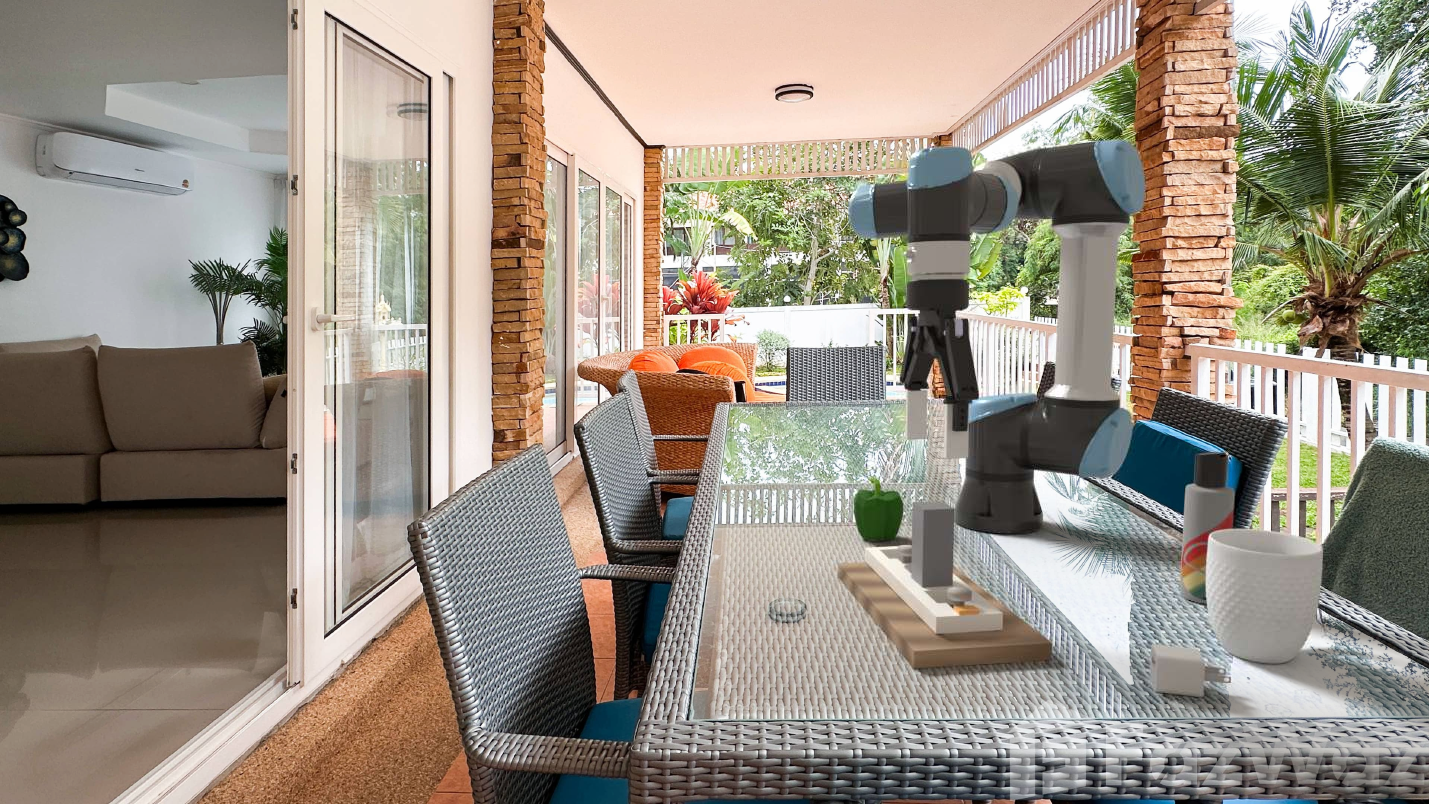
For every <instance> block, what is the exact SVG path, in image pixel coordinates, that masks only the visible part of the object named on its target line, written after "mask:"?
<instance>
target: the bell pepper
mask: <svg viewBox="0 0 1429 804" xmlns="http://www.w3.org/2000/svg"><path fill="white" fill-rule="evenodd" d="M869 481H870V482H871V484H874V489H871V490H868V489H865V488H864V489H863V488H862V489H859V490H858V492H857V493H856V494H855V497H854V498H853V515H854V521H855V525H856V527H857V531H858V533H859V535H860V537H861V538H862V539H864V540H866V541H873V542H878V541H884V540H885V541H886V540H894V539H895V538H896V536H897V535H898V534H899V531H900V528H901V524H902V521H903V518H904V502H903V499H902V497H901V495H900V493H899V491H896V490H888V491H884V490H883V489H882V486H881V482H880V480H879V479H878V478H877V477H871V478H870V479H869Z"/></svg>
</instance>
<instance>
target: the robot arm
mask: <svg viewBox="0 0 1429 804" xmlns="http://www.w3.org/2000/svg"><path fill="white" fill-rule="evenodd" d="M908 161H909V162H908V172H907V179H906V180H899V181H894V182H893V181H891V182H885V183H884V182H883V183H873V184H869V185H863V186H860V187H858V188H857V189H856V190H854V191H853V193H852V194H851V197H850V199H849V203H848V209H847V211H848V221H849V224H850V227H851V230H852V231H853V232H854V233H855V235H857V236H858V237H859V238H862V239H876V240H880V239H887V238H900V237H901V238H902V237H907V241H906V242H907V244H906V245H907V247H906V248H907V250H905V251H903V258H904V259H907V261H906V265H907V267H906V273H907V275H908V276H911V279H912V280H908V281H907V282H906V287H905V288H906V293H905V295H906V300H905V305H906V307H905V308H907V309H908V310H909V311H919V314H918V315H910V316H909V317H908V327H907V328H908V330H907V335H906V336H907V338H906V343H905V347H904V353H903V359H902V363H901V369H900V374H899V382H900V384H903V386H904V390H905V430H904V431H905V434H904V435H905V436H904V437H905V440H906V441H907V440H908V441H911V440H913V441H914V440H927V439H928V438H927V437H928V390H930V386H929V383H928V381H927V380H928V378H929V376H930V372H931V370H932V367H933V364H934V361H935V359H936V360H937V363H938V365H937V366H938V367H939V371H940V374H941V375H940V376H941V379H942V383H943V385H944V389H945V392H946V396H945V397H944V399H943V401H942V404H943V405H944V427H943V428H944V431H943V433H944V434H943V458H944V459H946V460H947V459H948V460H951V459H953V460H954V459H965V470H964V471H965V478H964V482H963V485H962V487H961V490H960V492H959V495H958V498H957V500H956V504H955V507H954V523H956V524H957V525H958V526H961V527H962V528H967V529H971V530H975V531H978V532H979V531H980V532H986V533H992V534H993V533H994V534H1024V533H1025V534H1026V533H1032V532H1036V531H1038V530H1041V529H1042V528H1043V526H1044V512H1043V509H1042V505H1041V503H1040V499H1039V496H1038V491H1037V489H1036V486H1035V480H1034V479H1035V471H1038V472H1045V473H1046V472H1047V473H1055V474H1063V475H1071V476H1076V477H1077V476H1078V477H1080V478H1083V479H1084V478H1085V479H1086V478H1093V479H1094V478H1095V479H1107V478H1110V477H1112V476H1114V475H1115V474H1116V473H1117V472H1118V471H1119V469H1120V468H1121V467H1122V465H1123V463H1124V461H1125V459H1126V456H1127V454H1128V451H1129V448H1130V444H1131V440H1132V435H1133V425H1134V424H1133V421H1132V419H1133V417H1132V413H1131V412H1130V411H1129V409H1126V408H1124V407H1121V396H1120V394H1119V393H1118V392H1117V391H1116V390H1115V389H1114V388H1113V387H1112V384H1111V383H1112V370H1113V369H1112V365H1113V346H1114V327H1115V313H1116V312H1115V311H1116V310H1115V308H1116V291H1117V290H1116V289H1117V271H1118V270H1117V269H1118V268H1117V267H1118V252H1119V251H1118V249H1119V238H1120V237H1121V235H1122V234H1123V233H1124V232H1125V231H1127V230H1128V229H1129V228H1130V223H1131V219H1130V218H1131V216H1132V215H1135V214H1137V213H1140V212H1141V211H1142V209H1143V208H1144V204H1145V203H1144V201H1145V200H1146V180H1145V179H1146V178H1145V172H1144V167H1143V163H1142V160H1141V158H1140V155H1139V152H1138V151H1137V149H1136V147H1135V146H1134V145H1133V144H1132V143H1131V142H1129V141H1127V140H1124V139H1112V140H1111V139H1106V140H1104V139H1103V140H1099V139H1098V140H1095V141H1089V142H1088V141H1087V142H1080V143H1072V144H1067V145H1066V144H1065V145H1059V146H1058V145H1057V146H1052V147H1042V148H1035V149H1030V150H1026V151H1023V152H1020V153H1016V154H1012V155H1009V156H1006V157H1002V158H999V159H994V160H990V161H989V160H988V161H986V162H984V163H981V164H980V165H978V166H976V167H975V169H974V166H973V157H972V154H971V151H970V150H969V149H968V148H965V147H962V146H934V147H933V146H932V147H927V148H923V149H922V148H921V149H919V150H916V151H914V152H913V153H911V155H910V157H909V160H908ZM1014 220H1033V221H1034V220H1051V230H1052V231H1053V232H1054V233H1055V234H1056V235H1057V236H1058V237H1059V239H1060V254H1059V255H1060V256H1059V277H1058V279H1059V280H1058V295H1057V296H1058V299H1057V301H1058V302H1057V318H1056V319H1057V322H1056V342H1055V343H1056V347H1055V363H1054V366H1055V367H1054V383H1053V385H1052V386H1051V387H1050V388H1049V389H1048V390H1047V391H1045V393H1044V394H1043V395H1044V396H1043V397H1044V398H1043V402H1038V401H1039V398H1038V396H1037V394H1036V393H1033V392H1032V393H1031V392H1030V393H1029V392H1023V393H1022V392H1021V393H1019V392H1018V393H1008V394H1007V393H1006V394H997V395H995V394H994V395H987V396H986V395H985V396H980V392H979V386H978V380H977V379H978V378H977V374H976V369H975V363H974V358H973V352H972V346H971V345H972V344H971V341H970V322H969V319H968V317H967V318H957V314H956V313H957V311H964V310H966V309H968V308H969V306H970V282H969V281H968V279H965V278H966V275H969V274H970V273H971V249H972V246H971V243H972V242H971V233H972V234H973V233H975V234H977V235H983V234H986V235H988V234H994V233H998V232H1000V231H1003V230H1004V229H1006V228H1007V227H1009V225H1010V224H1011V223H1012V222H1013V221H1014Z"/></svg>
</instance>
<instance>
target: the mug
mask: <svg viewBox="0 0 1429 804" xmlns="http://www.w3.org/2000/svg"><path fill="white" fill-rule="evenodd" d="M1323 556H1324V548H1323V547H1322V545H1321V544H1319V543H1318V542H1316V541H1314V540H1312V539H1309V538H1307V537H1306V538H1305V537H1303V536H1299V535H1296V534H1290V533H1285V532H1279V531H1273V530H1264V529H1256V528H1255V529H1253V528H1252V529H1251V528H1233V529H1225V530H1218V531H1215V532H1212V533H1211V534H1210V535H1209V538H1208V550H1207V559H1206V562H1207V564H1206V598H1207V604H1206V605H1207V607H1206V608H1207V612H1208V616H1209V620H1210V622H1211V623H1210V624H1211V627H1212V629H1213V632H1214V634H1215V636H1216V638H1217V639H1218V641H1219V643H1220V644H1221V646H1222V647H1223V649H1224V650H1225V651H1226V652H1227V653H1229V654H1230V655H1232V656H1235V657H1237V658H1240V659H1243V660H1245V661H1249V662H1254V663H1259V664H1267V665H1268V664H1271V665H1274V664H1275V665H1278V664H1284V663H1287V662H1290V661H1291V660H1293V658H1295V657H1297V654H1299V652H1300V651H1301V650H1302V649H1303V647H1304V646H1305V644H1306V642H1307V641H1308V639H1309V636H1310V634H1311V632H1312V629H1313V626H1314V624H1315V620H1316V618H1317V614H1318V608H1319V602H1320V595H1321V585H1322V577H1323V570H1324V568H1323V558H1324V557H1323Z"/></svg>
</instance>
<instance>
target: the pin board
mask: <svg viewBox="0 0 1429 804" xmlns="http://www.w3.org/2000/svg"><path fill="white" fill-rule="evenodd" d="M897 553H898V554H899V555H901V556H903V562H902V563H903V564H904V563H911V562H912V544H901V545H898V550H897ZM953 574H954V575H956V576H957V577H958V578H959V579H961V580H962V581H963V582H964V583H966V584H967V585H968V586H969V587H971V588H972V589H973V590H974V591H976V592H977V593H978V594H979V595H981V596H982V597H983V598H984V599H986V600H987V601H988V602H989V603H991V604H992V605H993V606H994V607H996V608H997V609H998V610H999V611H1001V612H1002V613H1003V628H1002V630H992V631H975V632H958V633H940V634H936V633H935V632H934V631H933V630H932V629H931V628H930V627H929V626H928V625H927V624H926V623H925V622H924V621H923V620H922V619H921V618H920V617H919V616H918V615H917V614H916V613H915V612H914V611H913V610H912V609H911V608H910V607H909V606H908V605H907V604H906V603H905V602H904V601H903V600H902V598H901V597H900V596H899V595H898V594H897V593H896V592H895V591H894V590H893V589H892V588H891V587H890V586H889V585H888V584H887V583H886V582H885V581H884V580H883V579H882V578H881V577H880V576H879V575H878V574H877V573H876V572H875V571H874V570H873V569H872V568H871V567H870V566H869V565H868V564H867V563H866V562H865V561H864V562H863V561H861V562H839V563H837V577H838V578H839V580H840V581H841V582H842V584H844V586H845V587H846V588H847V590H848V591H849V592H850V593H851V594H852V596H853V597H854V598H855V599H856V601H858V603H859V604H860V605H861V606H862V608H863V609H864V610H865V611H866V613H867V614H868V613H869V614H868V615H869V617H871V618H873V619H874V620H875V621H874V620H873V619H872V620H873V621H874V622H875V624H876V625H877V624H878V625H879V626H880V627H879V626H878V625H877V626H878V627H879V629H880V630H881V629H882V630H883V631H884V632H885V633H884V632H883V631H882V630H881V631H882V632H883V633H884V634H885V636H886V635H887V636H888V637H889V638H890V639H889V638H888V637H887V636H886V637H887V638H888V639H889V640H890V642H891V641H892V642H893V643H894V644H895V645H896V646H895V645H894V644H893V643H892V642H891V643H892V644H893V645H894V646H895V648H896V647H897V648H898V649H897V648H896V649H897V650H898V651H899V653H900V652H901V653H900V654H901V655H902V656H903V658H904V659H905V658H906V659H905V660H906V661H907V662H908V663H909V665H910V666H911V667H912V668H913V669H928V668H929V669H930V668H940V667H941V668H942V667H945V668H946V667H960V666H961V667H962V666H975V665H976V666H977V665H978V666H979V665H992V664H1005V663H1006V664H1007V663H1008V664H1010V663H1022V662H1023V663H1024V662H1025V663H1026V662H1037V661H1040V662H1041V661H1052V659H1053V657H1052V655H1053V642H1052V641H1051V640H1049V639H1048V638H1046V636H1044V635H1043V634H1041V633H1040V632H1039V631H1038V630H1036V629H1035V628H1034V627H1033V626H1031V625H1030V624H1029V623H1027V622H1026V621H1025V620H1023V619H1022V618H1021V617H1020V616H1018V615H1017V614H1016V613H1014V612H1013V611H1012V610H1011V609H1009V608H1008V607H1007V606H1005V605H1004V603H1002V602H1000V601H999V600H998V599H997V598H995V597H994V596H993V595H991V594H990V593H989V592H987V591H986V590H985V589H983V588H982V587H981V586H980V585H978V584H977V583H976V582H975V581H974V580H972V579H971V578H970V577H968V576H967V575H966V574H964V573H963V572H962V571H961V570H959V569H958V568H957V567H955V566H954V565H953ZM947 598H948V599H950V600H953V601H954V605H949V606H950V607H952V608H953V609H954V606H964V603H965V602H966V601H970V600H971V599H972V591H971V590H969V589H967V588H962V587H952V588H949V589H947Z"/></svg>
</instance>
